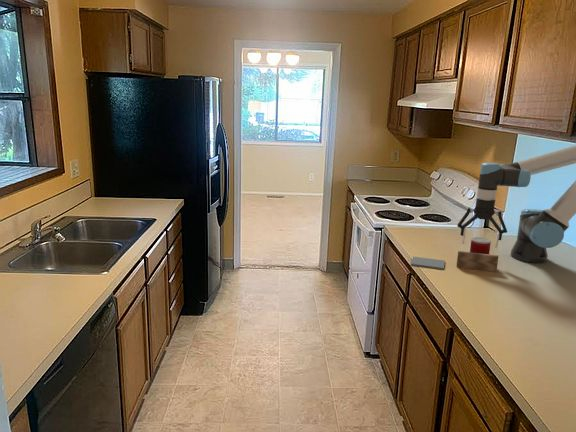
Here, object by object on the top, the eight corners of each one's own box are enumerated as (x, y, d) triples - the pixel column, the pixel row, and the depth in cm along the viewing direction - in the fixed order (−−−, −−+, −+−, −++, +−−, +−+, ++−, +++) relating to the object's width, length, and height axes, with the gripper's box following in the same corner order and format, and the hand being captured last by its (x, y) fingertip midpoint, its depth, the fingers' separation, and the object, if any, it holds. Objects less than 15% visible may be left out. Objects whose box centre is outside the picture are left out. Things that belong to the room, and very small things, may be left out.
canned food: (489, 266, 192) (492, 242, 189) (470, 265, 194) (473, 241, 191) (485, 260, 199) (488, 237, 197) (467, 259, 201) (469, 236, 198)
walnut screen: (496, 270, 187) (498, 255, 185) (496, 272, 186) (498, 256, 184) (456, 265, 193) (458, 250, 191) (456, 266, 191) (458, 251, 190)
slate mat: (444, 262, 197) (445, 260, 197) (443, 269, 188) (443, 267, 188) (413, 258, 202) (413, 256, 202) (410, 265, 193) (410, 263, 193)
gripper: (517, 199, 188) (509, 246, 193) (455, 194, 197) (450, 238, 202) (518, 203, 181) (511, 251, 187) (455, 197, 190) (449, 243, 195)
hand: (479, 244), depth 194 cm, fingers open, 13 cm apart
